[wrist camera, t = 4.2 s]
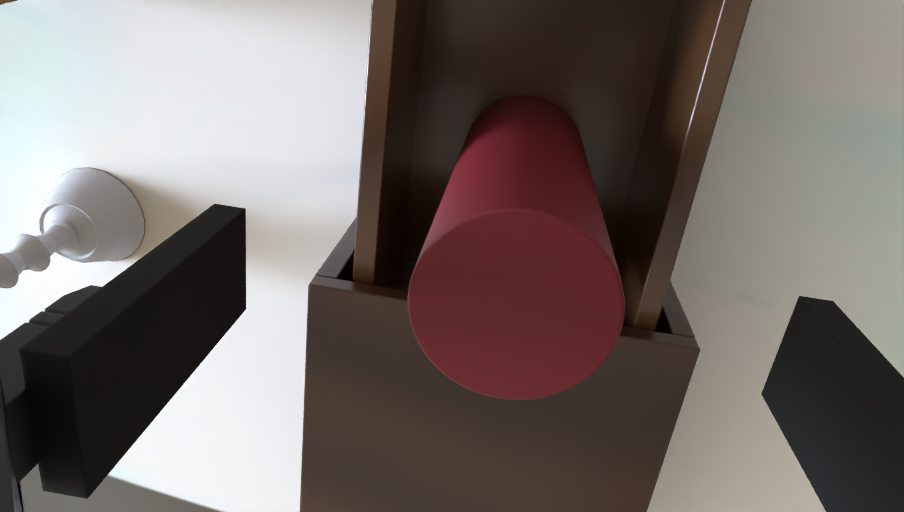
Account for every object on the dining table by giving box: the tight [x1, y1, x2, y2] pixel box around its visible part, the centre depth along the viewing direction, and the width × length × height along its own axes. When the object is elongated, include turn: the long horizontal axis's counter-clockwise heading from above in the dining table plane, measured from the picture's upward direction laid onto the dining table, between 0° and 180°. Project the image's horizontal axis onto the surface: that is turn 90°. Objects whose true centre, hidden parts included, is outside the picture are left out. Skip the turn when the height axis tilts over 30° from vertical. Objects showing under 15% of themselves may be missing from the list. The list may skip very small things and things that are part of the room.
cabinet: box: [300, 217, 700, 512], centre depth 31 cm, size 19×14×10 cm
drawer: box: [352, 0, 752, 332], centre depth 23 cm, size 22×12×8 cm, turn 173°
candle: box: [408, 95, 625, 400], centre depth 21 cm, size 5×5×14 cm
